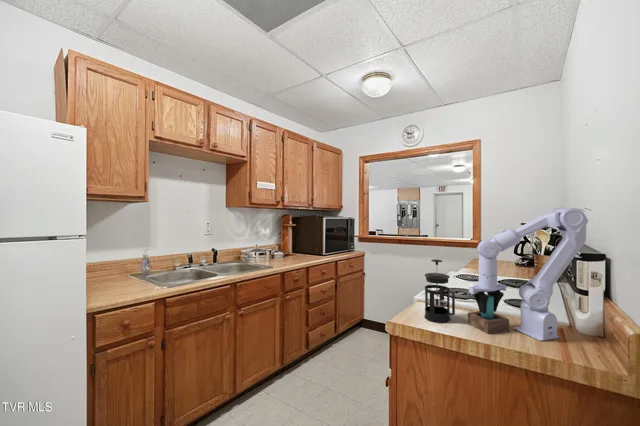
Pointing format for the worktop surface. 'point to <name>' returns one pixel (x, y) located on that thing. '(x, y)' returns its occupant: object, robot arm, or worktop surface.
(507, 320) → the socket block
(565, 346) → the worktop surface
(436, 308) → the french press
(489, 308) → the peg
